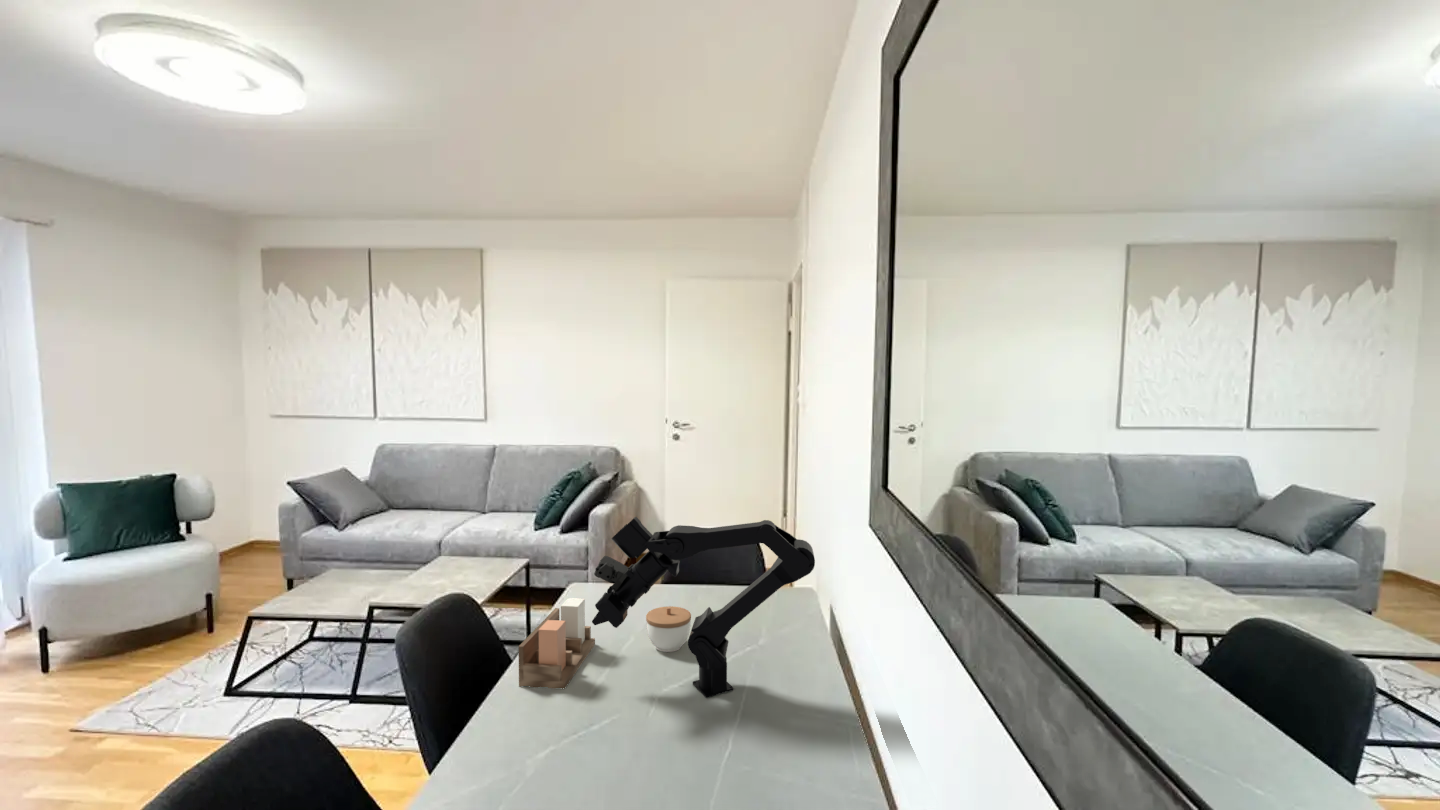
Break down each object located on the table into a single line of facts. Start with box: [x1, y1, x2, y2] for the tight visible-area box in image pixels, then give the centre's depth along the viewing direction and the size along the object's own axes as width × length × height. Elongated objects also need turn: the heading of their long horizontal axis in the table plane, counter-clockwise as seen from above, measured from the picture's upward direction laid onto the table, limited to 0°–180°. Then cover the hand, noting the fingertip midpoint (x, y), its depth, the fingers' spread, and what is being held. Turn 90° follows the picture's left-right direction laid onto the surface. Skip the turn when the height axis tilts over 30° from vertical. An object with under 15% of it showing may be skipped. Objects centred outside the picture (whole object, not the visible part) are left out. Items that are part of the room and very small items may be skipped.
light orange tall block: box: [539, 619, 566, 670], centre depth 128 cm, size 4×5×10 cm
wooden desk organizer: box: [518, 607, 596, 690], centre depth 135 cm, size 10×21×8 cm, turn 174°
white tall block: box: [560, 597, 586, 643], centre depth 141 cm, size 4×5×10 cm
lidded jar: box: [645, 605, 692, 653], centre depth 144 cm, size 11×11×9 cm
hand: (593, 622), depth 127 cm, fingers closed
